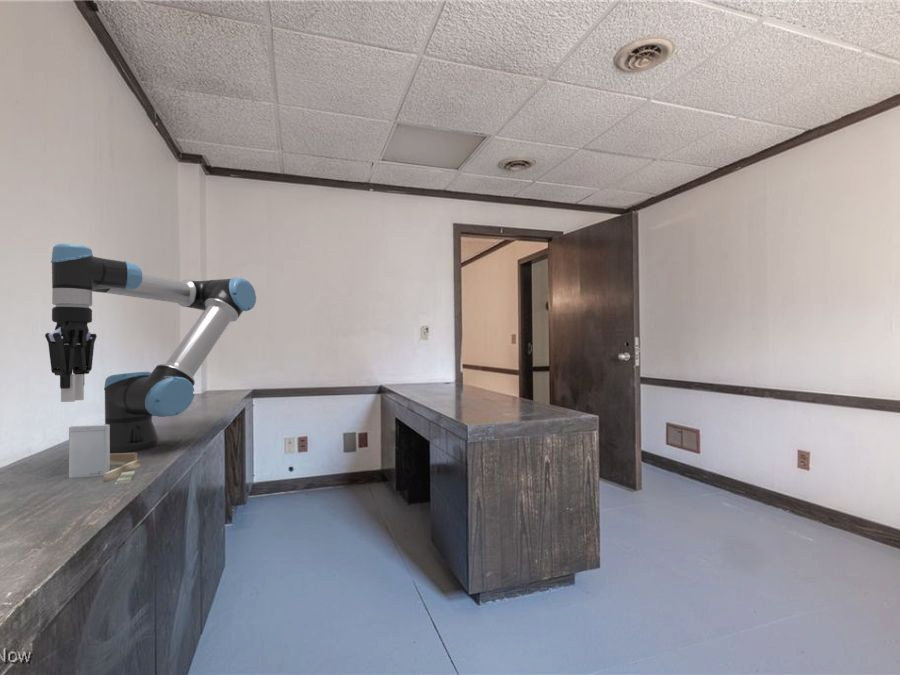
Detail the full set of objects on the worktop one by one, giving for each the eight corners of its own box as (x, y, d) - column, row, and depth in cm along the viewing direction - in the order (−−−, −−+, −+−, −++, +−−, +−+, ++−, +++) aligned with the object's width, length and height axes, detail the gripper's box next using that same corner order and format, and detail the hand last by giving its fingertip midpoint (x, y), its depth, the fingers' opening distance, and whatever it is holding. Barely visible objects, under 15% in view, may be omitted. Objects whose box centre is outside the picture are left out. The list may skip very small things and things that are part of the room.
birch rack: (97, 465, 115) (97, 453, 115) (148, 463, 116) (148, 452, 116) (48, 484, 99) (48, 471, 99) (108, 482, 100) (108, 469, 100)
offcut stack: (122, 477, 105) (122, 471, 105) (138, 475, 107) (137, 469, 107) (114, 487, 98) (113, 481, 98) (130, 484, 100) (130, 479, 100)
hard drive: (106, 475, 105) (106, 425, 105) (67, 478, 103) (67, 427, 103) (110, 473, 107) (110, 424, 107) (72, 476, 105) (72, 426, 105)
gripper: (79, 309, 114) (80, 397, 113) (29, 304, 99) (29, 405, 98) (109, 309, 114) (109, 396, 114) (63, 304, 99) (63, 405, 99)
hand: (72, 400), depth 106 cm, fingers open, 2 cm apart
